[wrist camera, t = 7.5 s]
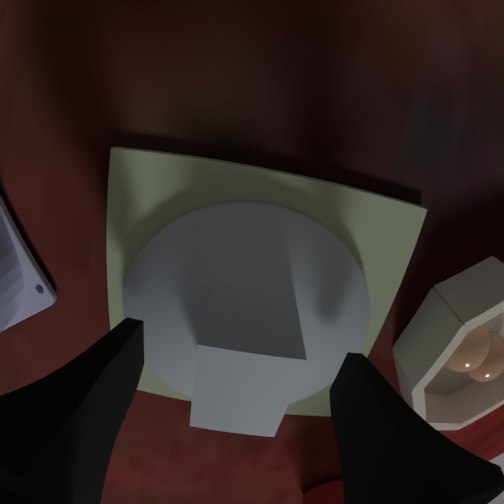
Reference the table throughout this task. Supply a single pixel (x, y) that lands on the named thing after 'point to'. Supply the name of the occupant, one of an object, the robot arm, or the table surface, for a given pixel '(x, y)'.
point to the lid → (246, 310)
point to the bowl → (456, 349)
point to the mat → (260, 189)
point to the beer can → (326, 493)
